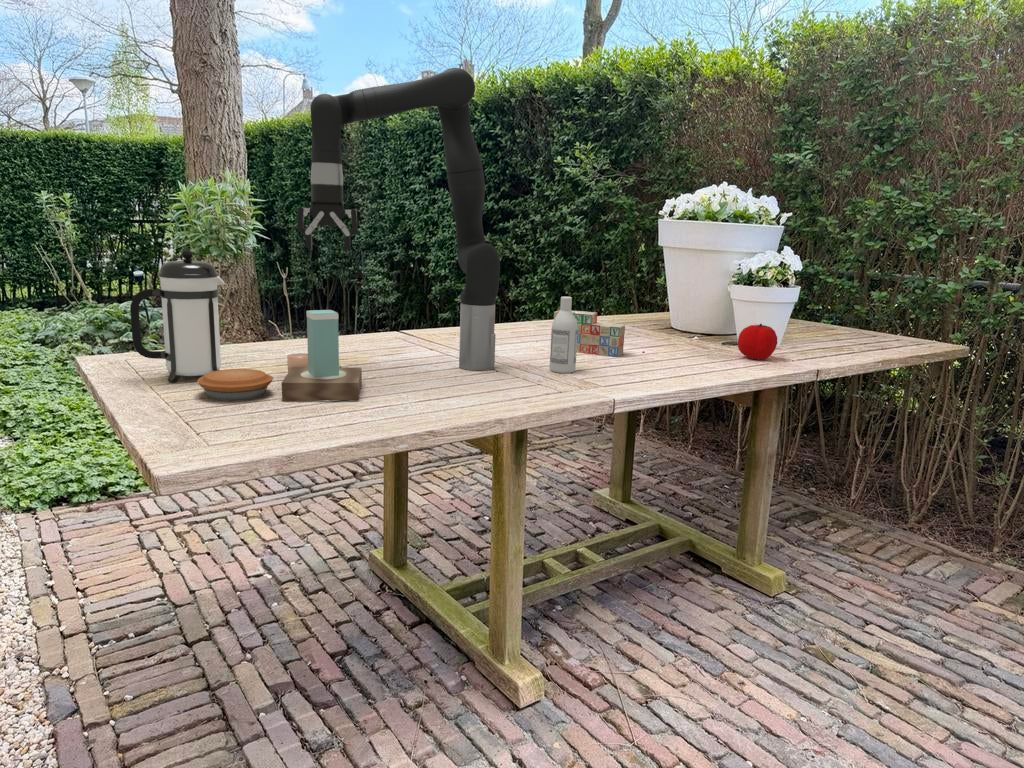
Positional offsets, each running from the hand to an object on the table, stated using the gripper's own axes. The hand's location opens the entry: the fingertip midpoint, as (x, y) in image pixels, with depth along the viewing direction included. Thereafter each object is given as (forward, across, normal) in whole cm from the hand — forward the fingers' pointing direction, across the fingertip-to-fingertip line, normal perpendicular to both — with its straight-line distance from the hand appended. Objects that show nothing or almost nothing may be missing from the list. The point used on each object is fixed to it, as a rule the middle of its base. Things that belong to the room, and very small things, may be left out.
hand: (328, 251), depth 181 cm
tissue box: (+30, 0, -23) cm, 38 cm away
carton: (+26, 0, -23) cm, 35 cm away
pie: (+30, -18, -25) cm, 43 cm away
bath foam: (+30, +61, +1) cm, 68 cm away
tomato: (+30, +127, +21) cm, 132 cm away
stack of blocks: (+30, +75, +29) cm, 86 cm away
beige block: (+30, -6, -11) cm, 33 cm away
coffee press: (+30, -32, -9) cm, 45 cm away
